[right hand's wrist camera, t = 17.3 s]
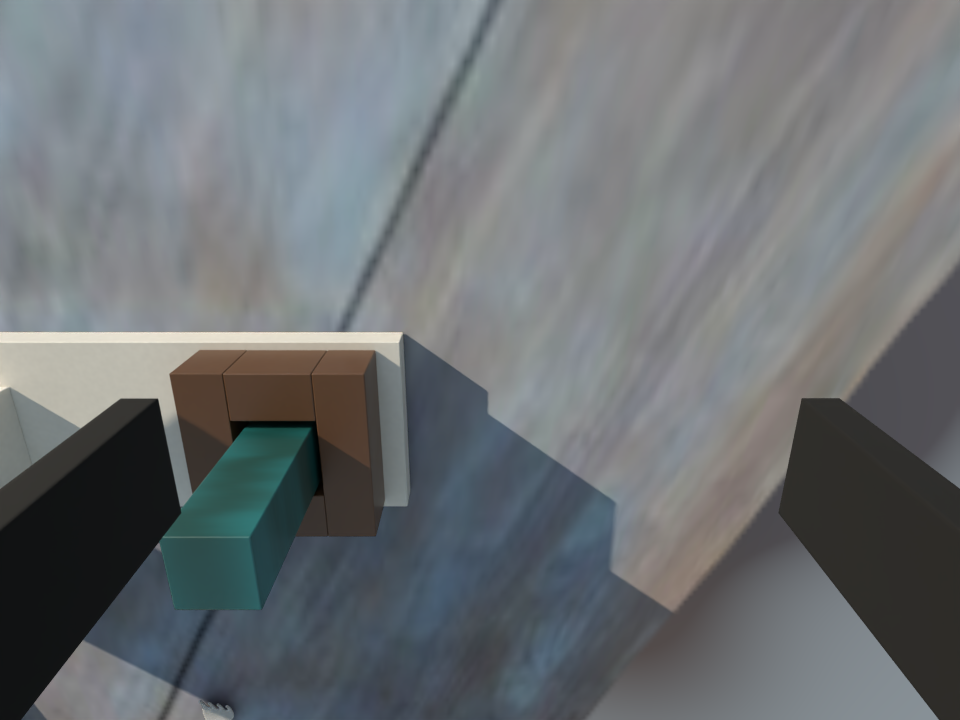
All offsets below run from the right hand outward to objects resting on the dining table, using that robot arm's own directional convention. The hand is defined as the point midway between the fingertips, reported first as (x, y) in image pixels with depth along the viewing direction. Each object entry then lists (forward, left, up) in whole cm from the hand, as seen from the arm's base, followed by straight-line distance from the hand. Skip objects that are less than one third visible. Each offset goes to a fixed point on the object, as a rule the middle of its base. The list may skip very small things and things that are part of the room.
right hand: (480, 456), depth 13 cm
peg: (+12, +12, -25) cm, 30 cm away
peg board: (+20, +12, -27) cm, 35 cm away
